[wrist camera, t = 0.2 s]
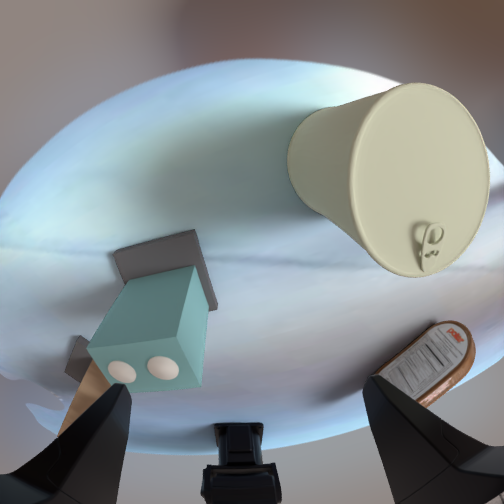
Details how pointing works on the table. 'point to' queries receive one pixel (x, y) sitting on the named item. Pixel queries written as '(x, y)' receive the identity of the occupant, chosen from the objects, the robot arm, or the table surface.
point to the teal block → (154, 333)
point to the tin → (432, 362)
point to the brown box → (86, 394)
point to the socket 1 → (79, 360)
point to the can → (396, 175)
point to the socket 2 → (166, 260)
